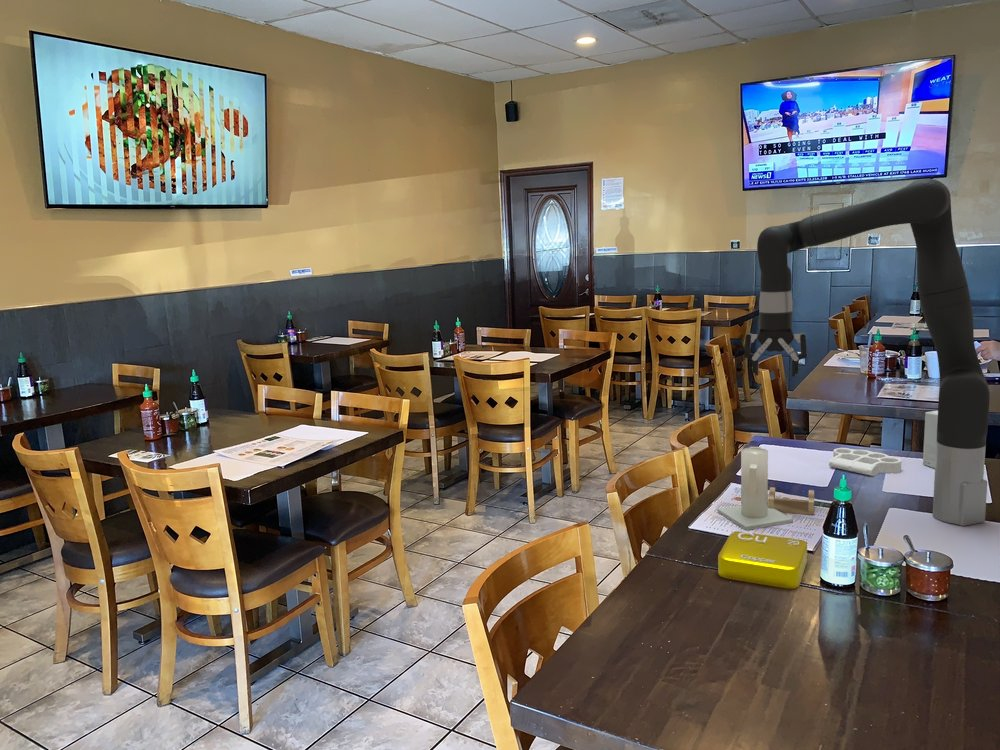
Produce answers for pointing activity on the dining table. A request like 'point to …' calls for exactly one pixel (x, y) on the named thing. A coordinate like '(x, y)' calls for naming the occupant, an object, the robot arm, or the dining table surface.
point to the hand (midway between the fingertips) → (775, 375)
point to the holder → (791, 503)
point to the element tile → (763, 559)
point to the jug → (754, 482)
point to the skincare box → (930, 438)
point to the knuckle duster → (864, 461)
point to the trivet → (752, 523)
